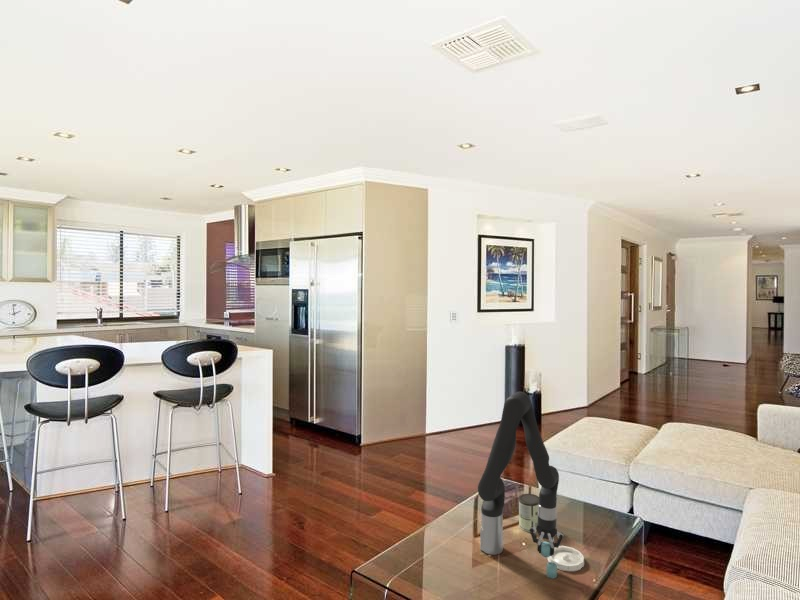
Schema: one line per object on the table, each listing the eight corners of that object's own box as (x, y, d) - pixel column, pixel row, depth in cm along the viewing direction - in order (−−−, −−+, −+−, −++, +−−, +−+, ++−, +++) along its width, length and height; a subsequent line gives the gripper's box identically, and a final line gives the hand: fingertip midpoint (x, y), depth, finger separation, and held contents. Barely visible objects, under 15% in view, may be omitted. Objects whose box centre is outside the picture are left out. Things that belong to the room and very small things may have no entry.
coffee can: (522, 519, 257) (522, 491, 255) (543, 524, 251) (543, 496, 250) (515, 528, 248) (515, 500, 247) (536, 534, 242) (536, 505, 241)
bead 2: (545, 577, 211) (545, 566, 211) (547, 571, 215) (547, 561, 214) (556, 579, 210) (556, 569, 209) (557, 573, 213) (557, 563, 213)
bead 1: (540, 555, 216) (540, 545, 215) (541, 550, 220) (541, 540, 219) (550, 558, 214) (550, 547, 214) (551, 552, 218) (551, 542, 217)
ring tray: (544, 566, 218) (544, 561, 218) (550, 547, 232) (550, 542, 232) (582, 574, 212) (582, 569, 212) (585, 554, 226) (585, 549, 225)
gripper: (528, 515, 214) (526, 554, 216) (564, 523, 209) (562, 563, 211) (531, 507, 221) (529, 544, 223) (566, 514, 216) (564, 552, 218)
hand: (545, 553), depth 217 cm, fingers closed on bead 1, 4 cm apart
